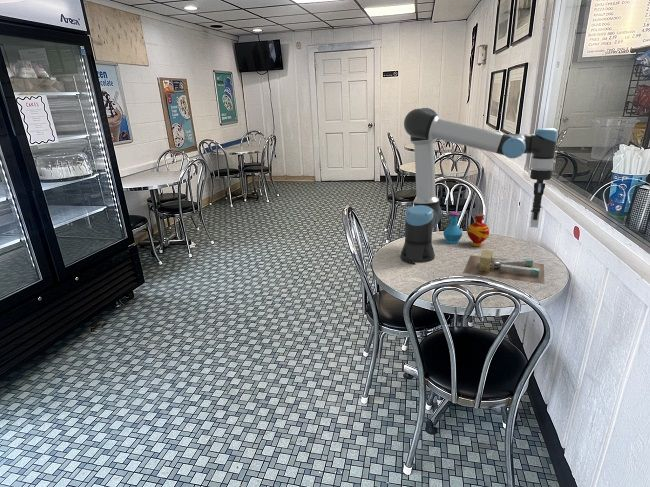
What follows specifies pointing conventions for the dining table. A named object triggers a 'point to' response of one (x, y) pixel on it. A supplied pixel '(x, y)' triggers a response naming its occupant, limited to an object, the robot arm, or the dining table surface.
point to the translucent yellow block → (485, 260)
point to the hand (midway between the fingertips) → (534, 225)
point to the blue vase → (453, 229)
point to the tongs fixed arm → (515, 269)
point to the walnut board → (473, 269)
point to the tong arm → (514, 262)
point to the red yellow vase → (478, 231)
